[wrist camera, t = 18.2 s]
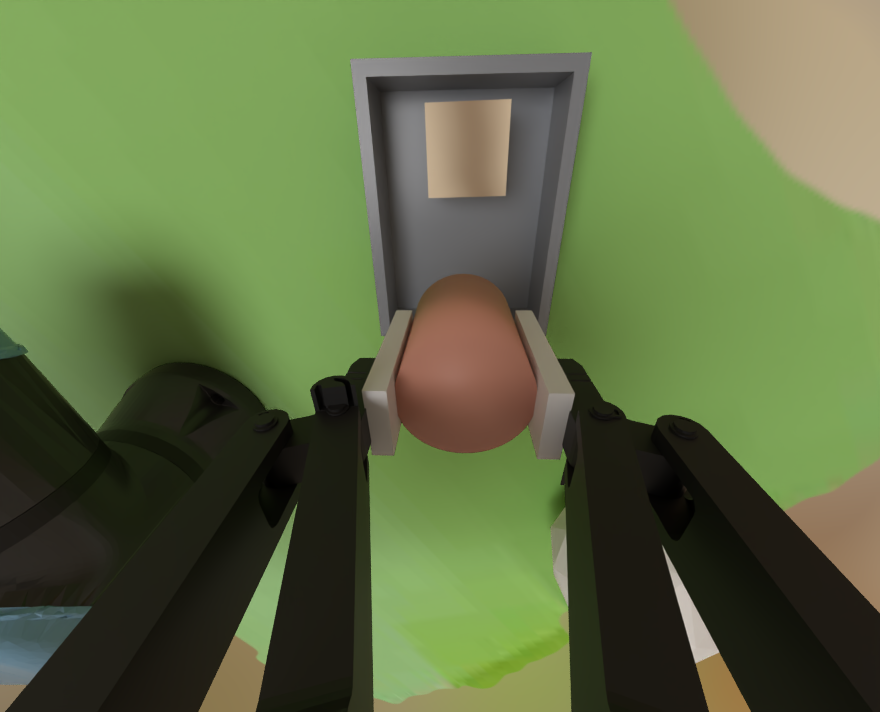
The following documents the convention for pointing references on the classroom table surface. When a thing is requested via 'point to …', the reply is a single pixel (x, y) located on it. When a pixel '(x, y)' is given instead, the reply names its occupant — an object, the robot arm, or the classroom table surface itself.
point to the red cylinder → (464, 369)
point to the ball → (693, 623)
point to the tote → (468, 218)
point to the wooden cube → (467, 147)
